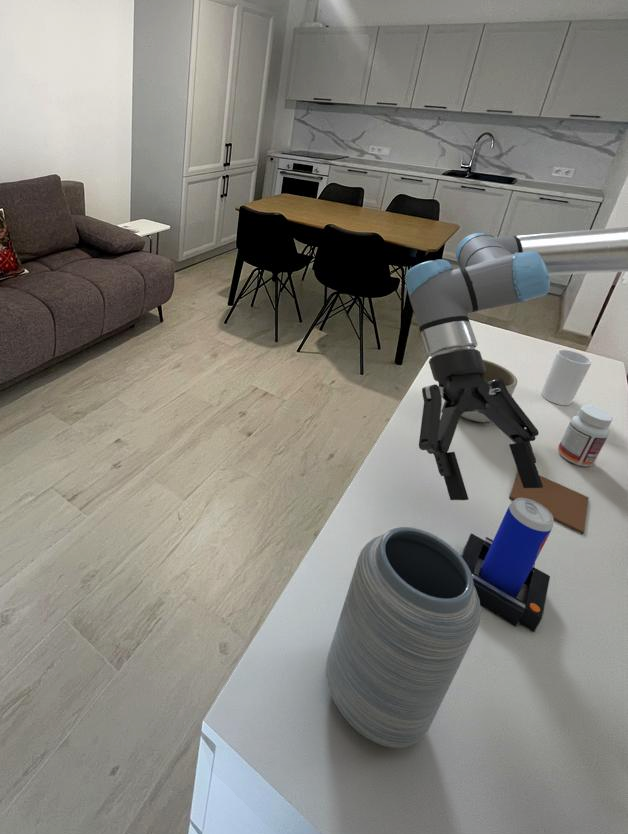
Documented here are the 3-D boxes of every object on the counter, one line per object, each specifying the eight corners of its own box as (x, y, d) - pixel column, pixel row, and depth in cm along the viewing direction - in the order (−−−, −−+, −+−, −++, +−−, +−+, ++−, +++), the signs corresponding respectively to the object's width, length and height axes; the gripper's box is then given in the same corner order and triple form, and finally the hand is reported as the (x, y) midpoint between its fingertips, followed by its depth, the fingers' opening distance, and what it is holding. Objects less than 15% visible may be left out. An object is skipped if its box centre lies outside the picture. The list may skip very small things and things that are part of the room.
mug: (573, 410, 119) (593, 367, 114) (540, 399, 122) (558, 357, 117) (569, 391, 127) (587, 350, 122) (538, 381, 130) (555, 341, 125)
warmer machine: (543, 585, 74) (551, 570, 73) (532, 637, 67) (541, 621, 65) (466, 542, 80) (473, 527, 79) (448, 585, 73) (455, 570, 72)
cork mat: (587, 499, 92) (588, 497, 91) (582, 534, 84) (584, 532, 84) (519, 468, 98) (520, 466, 98) (508, 498, 90) (509, 496, 90)
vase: (448, 736, 55) (520, 598, 46) (365, 779, 51) (426, 637, 42) (377, 635, 65) (424, 504, 56) (302, 664, 61) (341, 529, 52)
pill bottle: (589, 454, 104) (612, 409, 99) (595, 472, 99) (620, 426, 94) (554, 443, 106) (575, 399, 102) (559, 460, 101) (581, 414, 97)
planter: (451, 423, 110) (466, 382, 106) (433, 392, 121) (446, 353, 117) (510, 432, 109) (528, 390, 104) (487, 400, 120) (502, 361, 116)
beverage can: (520, 607, 70) (561, 531, 65) (480, 594, 72) (516, 518, 66) (512, 577, 75) (549, 503, 69) (474, 565, 76) (507, 491, 71)
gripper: (495, 354, 87) (540, 483, 79) (372, 363, 80) (409, 504, 73) (533, 343, 80) (586, 482, 73) (402, 351, 73) (445, 505, 66)
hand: (497, 494), depth 73 cm, fingers open, 13 cm apart
